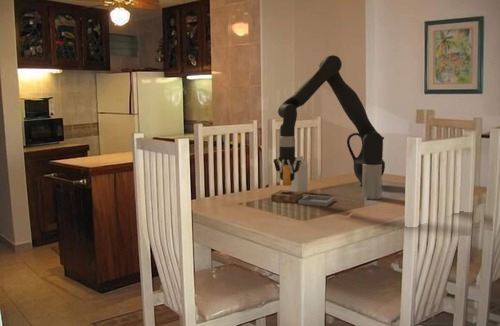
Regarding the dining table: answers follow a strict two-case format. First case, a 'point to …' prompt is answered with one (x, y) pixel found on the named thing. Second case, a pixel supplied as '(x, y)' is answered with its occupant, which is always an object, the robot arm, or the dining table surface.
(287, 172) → the plug
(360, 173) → the pitcher
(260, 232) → the dining table surface
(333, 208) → the dining table surface
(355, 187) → the dining table surface
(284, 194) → the socket block
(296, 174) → the milk carton
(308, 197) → the tray
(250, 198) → the dining table surface
